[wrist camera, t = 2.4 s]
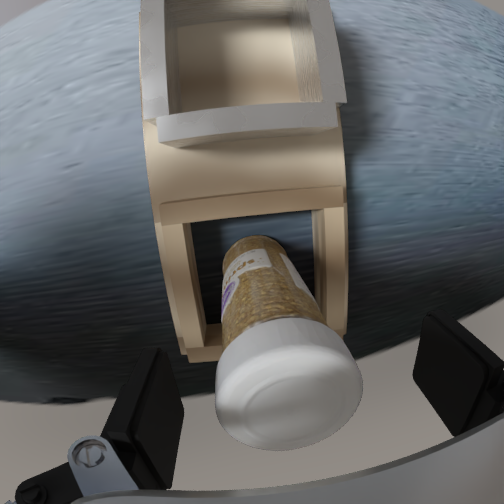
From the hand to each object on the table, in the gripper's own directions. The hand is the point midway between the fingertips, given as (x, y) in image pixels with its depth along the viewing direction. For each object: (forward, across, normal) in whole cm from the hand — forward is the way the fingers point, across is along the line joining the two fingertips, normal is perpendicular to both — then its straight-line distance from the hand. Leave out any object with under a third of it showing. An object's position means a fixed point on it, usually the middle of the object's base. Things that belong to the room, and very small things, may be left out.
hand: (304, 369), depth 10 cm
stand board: (+11, +1, -6) cm, 13 cm away
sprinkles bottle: (+12, +1, 0) cm, 12 cm away
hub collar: (+10, +1, -13) cm, 16 cm away
